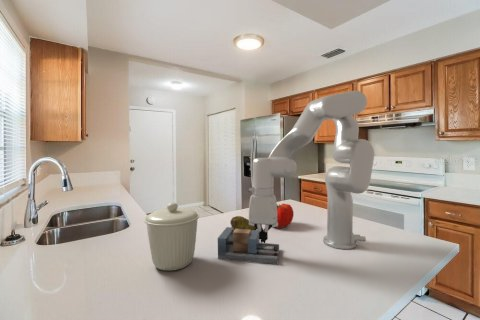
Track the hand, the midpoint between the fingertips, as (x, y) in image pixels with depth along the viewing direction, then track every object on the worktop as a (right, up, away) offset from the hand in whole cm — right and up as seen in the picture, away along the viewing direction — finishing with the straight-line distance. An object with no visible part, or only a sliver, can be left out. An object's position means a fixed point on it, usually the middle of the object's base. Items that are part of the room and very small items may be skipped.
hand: (263, 241), depth 85 cm
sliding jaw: (0, -3, 0) cm, 3 cm away
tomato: (+12, -4, +33) cm, 35 cm away
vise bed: (-5, -5, +1) cm, 7 cm away
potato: (-7, -5, +24) cm, 25 cm away
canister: (-31, -6, -5) cm, 32 cm away
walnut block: (-8, -4, +2) cm, 9 cm away
